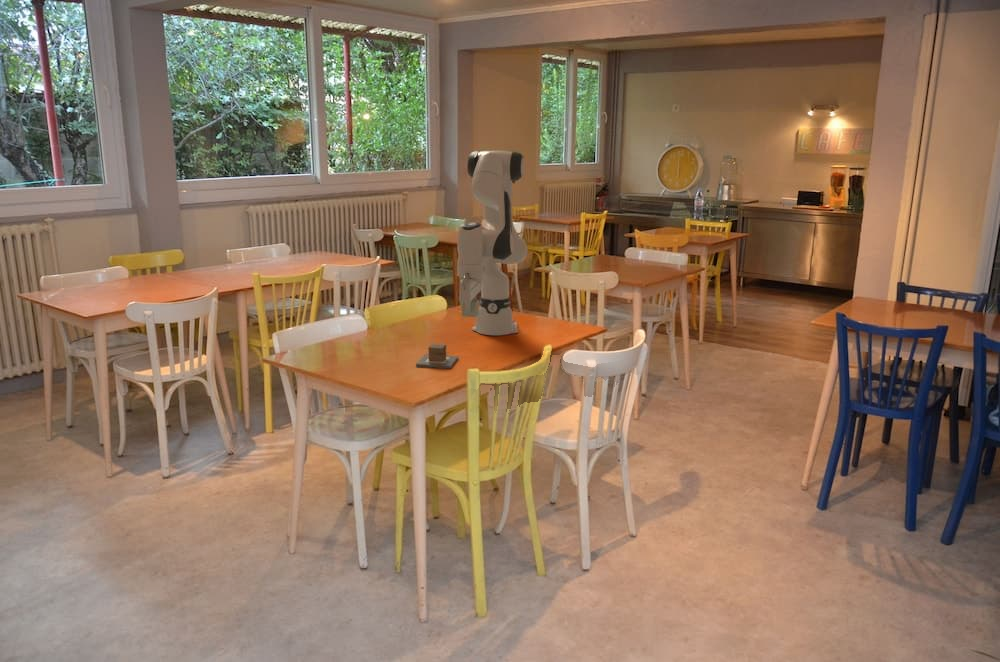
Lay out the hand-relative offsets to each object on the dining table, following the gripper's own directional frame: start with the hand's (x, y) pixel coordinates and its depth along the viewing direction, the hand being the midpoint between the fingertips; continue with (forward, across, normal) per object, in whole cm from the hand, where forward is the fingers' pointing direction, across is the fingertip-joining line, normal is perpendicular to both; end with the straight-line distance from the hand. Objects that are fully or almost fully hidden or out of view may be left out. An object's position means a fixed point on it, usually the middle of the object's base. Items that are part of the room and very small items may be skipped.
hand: (470, 310), depth 269 cm
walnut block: (+17, -3, +11) cm, 21 cm away
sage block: (+2, 0, 0) cm, 2 cm away
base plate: (+18, -3, +11) cm, 22 cm away
